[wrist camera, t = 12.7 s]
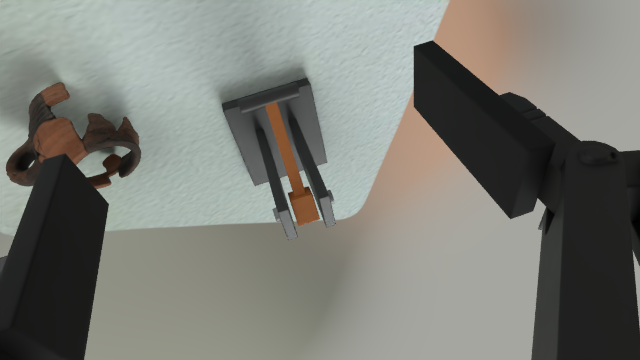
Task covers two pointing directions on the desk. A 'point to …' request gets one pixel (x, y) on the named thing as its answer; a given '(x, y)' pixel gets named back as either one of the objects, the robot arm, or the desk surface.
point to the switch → (284, 147)
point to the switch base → (265, 153)
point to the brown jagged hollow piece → (70, 141)
